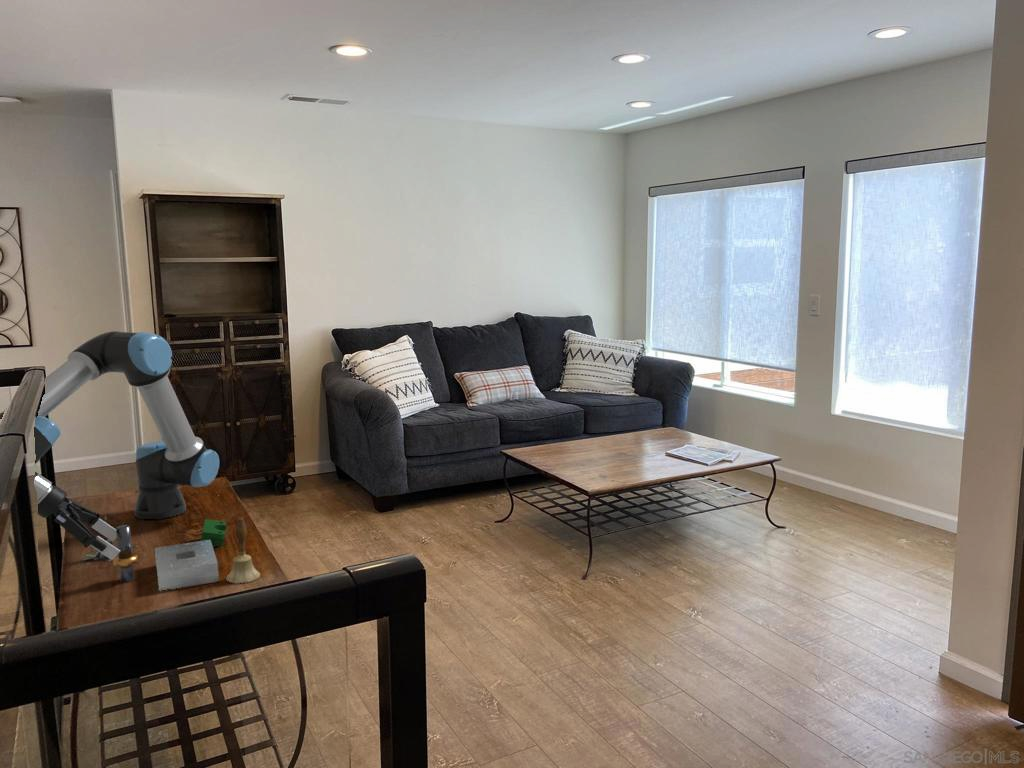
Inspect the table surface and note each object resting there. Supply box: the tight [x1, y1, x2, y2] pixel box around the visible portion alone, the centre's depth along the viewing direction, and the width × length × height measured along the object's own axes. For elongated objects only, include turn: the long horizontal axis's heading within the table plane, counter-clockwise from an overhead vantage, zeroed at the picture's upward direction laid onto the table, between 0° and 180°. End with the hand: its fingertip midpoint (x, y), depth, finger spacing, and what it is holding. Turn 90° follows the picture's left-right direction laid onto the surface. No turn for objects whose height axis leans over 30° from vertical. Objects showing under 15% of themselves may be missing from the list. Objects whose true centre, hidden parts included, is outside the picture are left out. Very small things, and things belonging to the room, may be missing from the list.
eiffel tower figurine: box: [78, 515, 138, 568], centre depth 214 cm, size 15×10×13 cm
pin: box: [112, 524, 139, 583], centre depth 199 cm, size 6×6×14 cm
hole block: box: [154, 540, 220, 592], centre depth 204 cm, size 18×14×5 cm
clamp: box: [200, 518, 227, 547], centre depth 225 cm, size 12×6×9 cm, turn 12°
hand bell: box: [226, 517, 261, 585], centre depth 201 cm, size 8×8×16 cm
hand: (116, 546), depth 197 cm, fingers open, 13 cm apart
